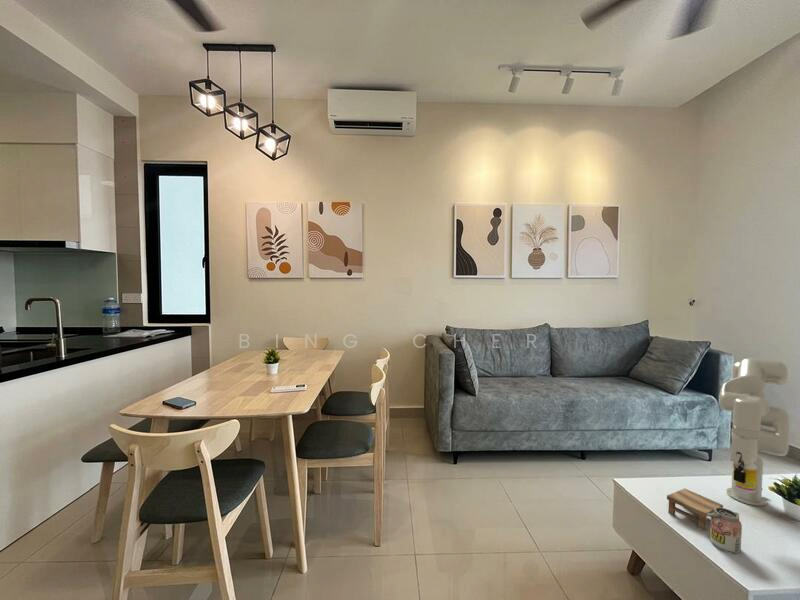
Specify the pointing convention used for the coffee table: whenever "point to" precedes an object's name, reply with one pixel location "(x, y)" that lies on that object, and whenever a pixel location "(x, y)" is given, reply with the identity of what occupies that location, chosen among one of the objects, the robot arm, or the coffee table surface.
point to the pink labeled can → (725, 530)
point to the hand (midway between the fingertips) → (743, 479)
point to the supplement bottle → (746, 478)
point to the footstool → (692, 505)
